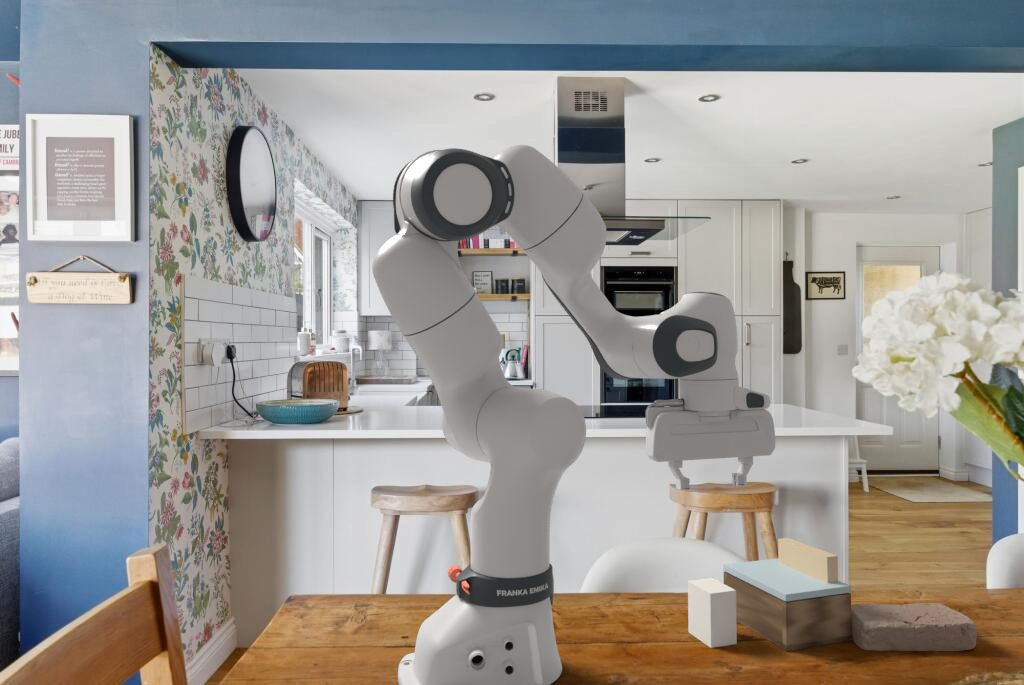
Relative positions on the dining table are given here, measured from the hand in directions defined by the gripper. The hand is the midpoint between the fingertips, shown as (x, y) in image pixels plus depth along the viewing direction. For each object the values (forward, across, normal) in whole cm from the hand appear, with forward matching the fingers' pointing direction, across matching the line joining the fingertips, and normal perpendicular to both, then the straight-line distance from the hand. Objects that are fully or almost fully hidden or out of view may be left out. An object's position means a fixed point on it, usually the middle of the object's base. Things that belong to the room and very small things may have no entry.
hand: (711, 487), depth 102 cm
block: (+23, -1, 0) cm, 23 cm away
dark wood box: (+23, +13, +2) cm, 27 cm away
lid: (+16, +13, +2) cm, 21 cm away
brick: (+24, +28, -6) cm, 37 cm away
